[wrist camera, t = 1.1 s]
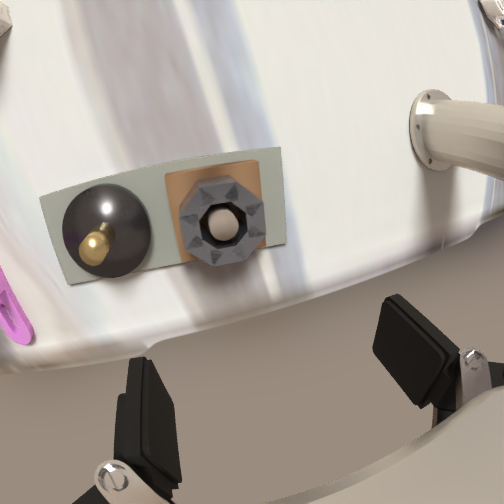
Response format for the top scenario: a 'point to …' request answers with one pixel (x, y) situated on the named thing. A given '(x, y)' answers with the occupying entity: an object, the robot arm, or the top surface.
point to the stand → (217, 215)
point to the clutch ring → (248, 221)
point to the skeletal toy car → (494, 11)
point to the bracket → (13, 314)
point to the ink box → (4, 18)
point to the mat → (167, 206)
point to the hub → (107, 230)
